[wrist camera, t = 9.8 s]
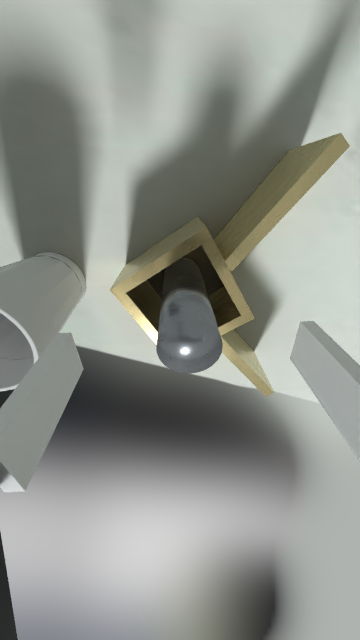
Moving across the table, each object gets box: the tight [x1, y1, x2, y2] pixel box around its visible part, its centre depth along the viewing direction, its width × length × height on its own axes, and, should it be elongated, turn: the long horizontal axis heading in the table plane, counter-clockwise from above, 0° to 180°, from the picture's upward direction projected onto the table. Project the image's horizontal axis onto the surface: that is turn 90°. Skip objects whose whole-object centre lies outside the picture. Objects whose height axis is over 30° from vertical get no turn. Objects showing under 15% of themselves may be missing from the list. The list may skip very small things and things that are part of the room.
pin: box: [156, 258, 223, 373], centre depth 19 cm, size 4×4×13 cm
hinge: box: [110, 133, 349, 396], centre depth 23 cm, size 19×18×7 cm
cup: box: [0, 252, 86, 391], centre depth 20 cm, size 8×8×12 cm
